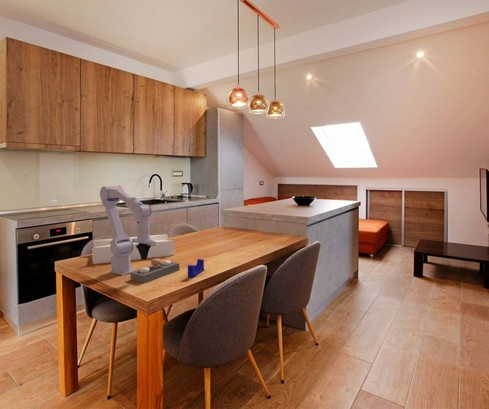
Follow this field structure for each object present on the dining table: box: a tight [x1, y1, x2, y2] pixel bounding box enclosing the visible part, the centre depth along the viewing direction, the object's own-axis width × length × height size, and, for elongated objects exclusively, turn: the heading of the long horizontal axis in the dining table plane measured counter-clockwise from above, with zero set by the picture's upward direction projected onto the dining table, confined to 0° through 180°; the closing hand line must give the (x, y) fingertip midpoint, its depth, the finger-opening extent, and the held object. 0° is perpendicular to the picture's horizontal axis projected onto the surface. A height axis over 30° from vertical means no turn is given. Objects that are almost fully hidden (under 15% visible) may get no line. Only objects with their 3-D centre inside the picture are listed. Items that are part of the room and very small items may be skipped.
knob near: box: [139, 266, 149, 274], centre depth 149 cm, size 4×4×5 cm
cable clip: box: [187, 258, 205, 279], centre depth 156 cm, size 12×4×6 cm, turn 163°
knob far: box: [161, 259, 172, 266], centre depth 161 cm, size 4×4×5 cm
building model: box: [91, 233, 176, 265], centre depth 192 cm, size 45×22×10 cm, turn 114°
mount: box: [129, 261, 180, 284], centre depth 155 cm, size 9×23×4 cm, turn 148°
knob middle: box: [150, 257, 161, 270], centre depth 155 cm, size 4×4×5 cm
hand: (144, 259), depth 148 cm, fingers closed
